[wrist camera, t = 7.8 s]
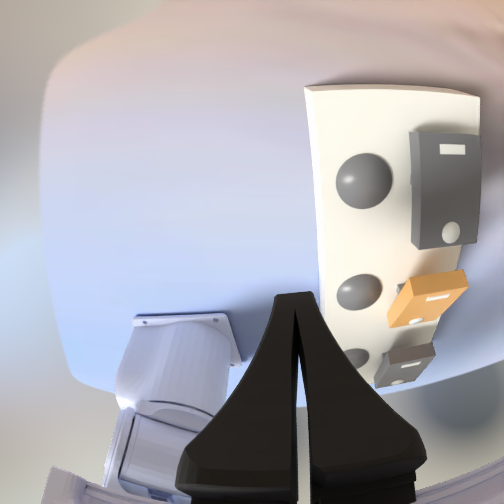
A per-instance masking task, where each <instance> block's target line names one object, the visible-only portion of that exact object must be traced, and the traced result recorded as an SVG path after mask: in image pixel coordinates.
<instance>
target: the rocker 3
mask: <svg viewBox="0 0 504 504" xmlns="http://www.w3.org/2000/svg"><path fill="white" fill-rule="evenodd" d="M435 356H436V354H435V350H434V347H433V343H432V342H431V343H426V344H422V345H417V346H412V347H407V348H401V349H396V350H390V351H387V353H386V355H385V357H384V358H383V360H382V362H381V364H380V366H379V368H378V370H377V372H376V373H375V375H374V383H375V389H376V388H381V387H387V386H392V385H397V384H402V383H407V382H411V381H415V380H416V378H417V377H418V376H419V375H420V374H421V373H422V372H423V370H424V369H425V368H426V367H427V366H428V364H429V363H430V362H431V361H432V360H433V358H434V357H435Z"/></svg>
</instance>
